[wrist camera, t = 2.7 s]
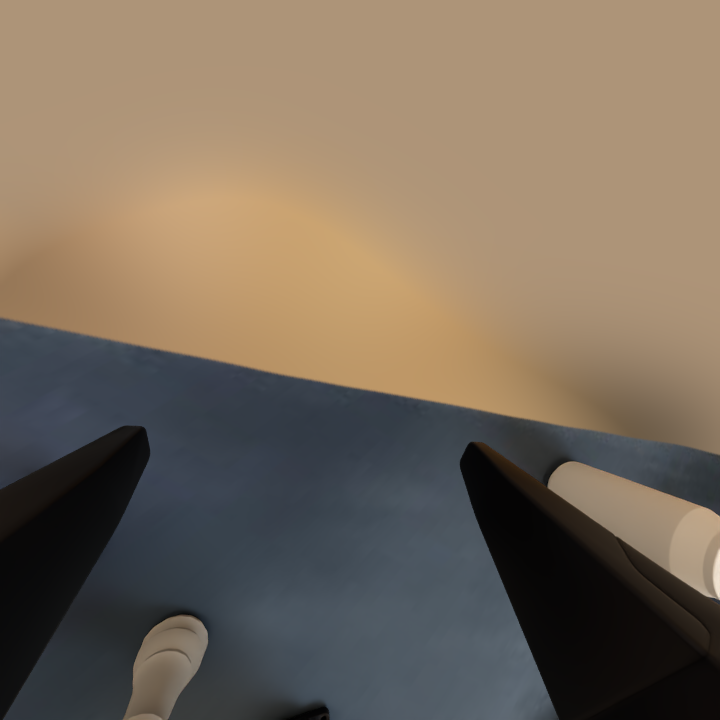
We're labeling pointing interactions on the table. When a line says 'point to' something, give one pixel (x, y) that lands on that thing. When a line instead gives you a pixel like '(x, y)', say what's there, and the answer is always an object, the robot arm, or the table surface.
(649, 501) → the beverage can
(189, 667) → the rook chess piece
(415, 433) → the table surface
